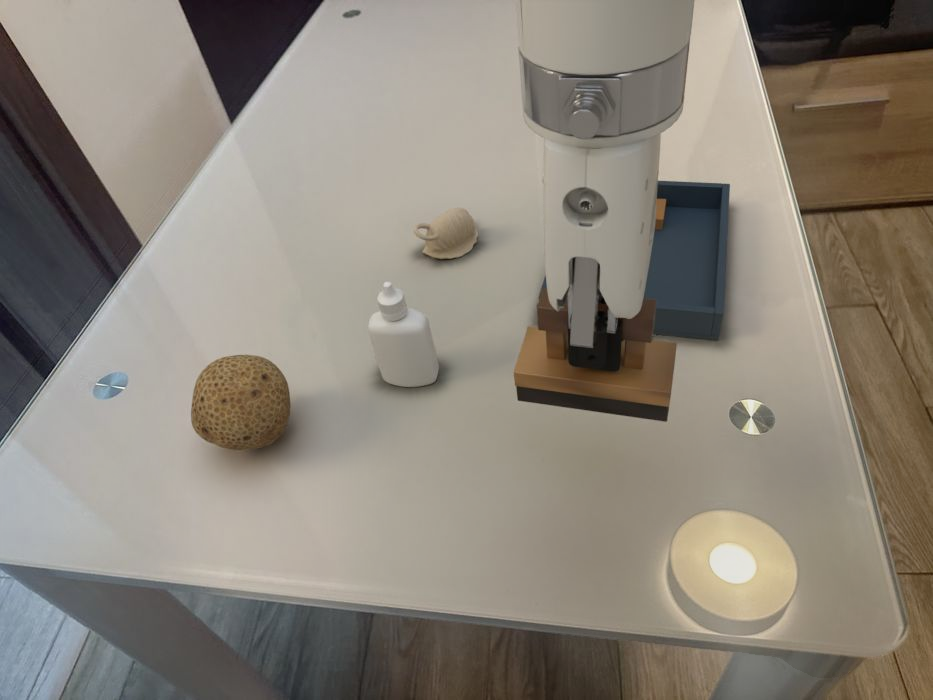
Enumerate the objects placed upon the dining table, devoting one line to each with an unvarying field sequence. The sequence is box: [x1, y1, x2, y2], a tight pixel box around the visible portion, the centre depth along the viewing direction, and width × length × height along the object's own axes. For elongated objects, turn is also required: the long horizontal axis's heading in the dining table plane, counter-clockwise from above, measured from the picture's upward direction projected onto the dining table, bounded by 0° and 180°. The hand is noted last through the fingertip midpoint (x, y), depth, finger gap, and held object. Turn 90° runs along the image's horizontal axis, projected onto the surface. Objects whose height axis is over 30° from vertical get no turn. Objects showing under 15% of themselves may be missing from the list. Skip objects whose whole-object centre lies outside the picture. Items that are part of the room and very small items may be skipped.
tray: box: [538, 180, 731, 341], centre depth 77 cm, size 18×22×4 cm
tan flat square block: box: [655, 199, 666, 230], centre depth 82 cm, size 4×4×2 cm
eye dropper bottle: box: [367, 281, 440, 388], centre depth 67 cm, size 4×6×12 cm
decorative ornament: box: [413, 207, 479, 260], centre depth 82 cm, size 4×8×5 cm, turn 122°
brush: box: [513, 289, 678, 423], centre depth 46 cm, size 10×4×8 cm, turn 74°
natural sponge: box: [190, 354, 292, 452], centre depth 64 cm, size 9×9×10 cm
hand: (597, 349), depth 46 cm, fingers closed on brush, 2 cm apart
